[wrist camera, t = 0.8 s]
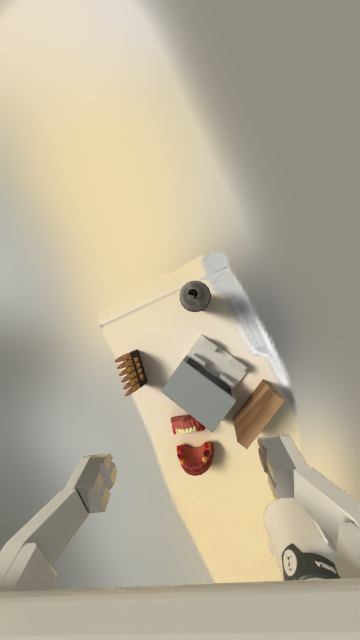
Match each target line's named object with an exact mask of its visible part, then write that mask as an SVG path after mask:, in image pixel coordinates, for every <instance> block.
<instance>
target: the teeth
mask: <svg viewBox="0 0 360 640" xmlns="http://www.w3.org/2000/svg"><path fill="white" fill-rule="evenodd" d="M171 423H172V429H173V433H174V434H178V433H179V434H184V433H185V430H186V433H191V432H193V431H194V432H196V431H201V430H205V426H204V425H202V424H201V423H200V422H199V421H197V420H196V419H195V418H194V417H192V416H191V415H184V416H177V417H172V418H171ZM177 453H178V454H177V456H178V458H179V461H180V464H181V466H182V468H183V469H184V471H185V472H186V473H188V474H190V475H193V476H197V475H201V474H203V473H205V472H206V471H207V470H208V469H209V467H210V466H211V464H212V461H213V458H214V446H213V444H212V443H210V442H205V443H204V444H203V445H202V446H200V447H195V448H192V447H188V446H186V445H180V446H177Z"/></svg>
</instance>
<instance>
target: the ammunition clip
mask: <svg viewBox="0 0 360 640" xmlns="http://www.w3.org/2000/svg"><path fill="white" fill-rule="evenodd" d="M130 358H131V359H130ZM125 360H127V361H125ZM121 361H125V362H123V363H122V364H120V365H119V366H118V367H117V369H122V368H124V367H127V368H125V369H124V370H123V371H121V372H120V373H119V376H122V375H125V374H128V373H129V374H128V375H127V376H125V377H124V378H123V379H122V380H121V382H126V381H128V380H130V379H131V380H130V381H129V382H128V383H127V384H125V385H124V387H123V389H127V388H129V387H130V386H132V387H131V388H130V389H129V390H128V391H127V392H126V394H125V396H128V395H130V394H132V393H133V392H135V391H136V390H137V389H139V388H140V387H142V386H143V385H145V384H146V383H147V378H146V375H145V372H144V369H143V365H142V362H141V359H140V356H139V353H138V350H135V351H132V352H130V353H127V354H124V355H122V356H121V357H119V358H117V359H116V360H115V362H121ZM132 364H133V365H132ZM130 365H131V366H130Z"/></svg>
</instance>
